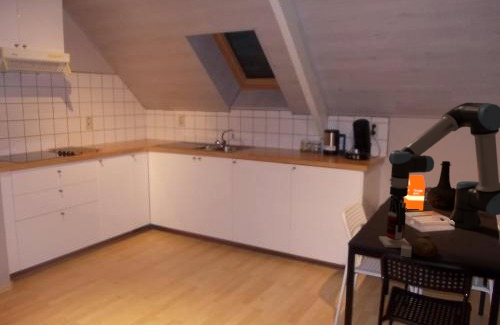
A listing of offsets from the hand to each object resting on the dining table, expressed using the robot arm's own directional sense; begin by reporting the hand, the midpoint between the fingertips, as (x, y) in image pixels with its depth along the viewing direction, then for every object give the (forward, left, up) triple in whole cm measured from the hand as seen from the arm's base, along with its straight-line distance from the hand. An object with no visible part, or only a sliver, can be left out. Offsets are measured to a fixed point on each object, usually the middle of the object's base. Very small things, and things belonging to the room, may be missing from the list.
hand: (395, 235), depth 194 cm
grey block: (0, +15, -4) cm, 15 cm away
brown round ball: (-12, +1, -4) cm, 13 cm away
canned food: (0, 0, -1) cm, 1 cm away
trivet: (0, 0, -4) cm, 4 cm away
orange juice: (-30, -60, -4) cm, 67 cm away
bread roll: (-9, +10, -4) cm, 14 cm away
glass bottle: (-49, -64, -4) cm, 81 cm away
